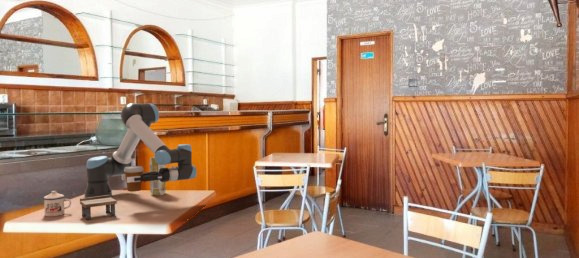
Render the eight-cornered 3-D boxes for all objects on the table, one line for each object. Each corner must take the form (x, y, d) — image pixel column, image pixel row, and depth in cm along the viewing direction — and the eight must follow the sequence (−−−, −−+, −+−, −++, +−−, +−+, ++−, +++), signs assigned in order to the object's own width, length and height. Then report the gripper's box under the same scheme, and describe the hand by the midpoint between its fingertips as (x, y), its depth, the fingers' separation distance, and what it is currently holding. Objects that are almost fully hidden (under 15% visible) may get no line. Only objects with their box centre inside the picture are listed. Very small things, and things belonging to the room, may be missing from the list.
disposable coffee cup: (137, 192, 216) (137, 168, 216) (120, 191, 218) (119, 168, 218) (147, 189, 226) (147, 166, 225) (131, 188, 227) (130, 165, 227)
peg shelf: (80, 215, 210) (79, 198, 210) (110, 211, 219) (109, 194, 218) (85, 220, 201) (85, 202, 200) (117, 216, 209) (116, 198, 209)
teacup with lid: (42, 217, 208) (42, 193, 207) (45, 213, 216) (44, 190, 216) (70, 214, 213) (70, 191, 212) (72, 211, 221) (71, 188, 220)
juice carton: (162, 195, 257) (161, 155, 256) (149, 195, 258) (148, 155, 256) (167, 192, 267) (166, 154, 266) (154, 192, 267) (153, 154, 266)
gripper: (160, 165, 240) (118, 169, 227) (175, 169, 224) (130, 173, 210) (161, 178, 241) (118, 183, 227) (175, 184, 224) (130, 189, 210)
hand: (124, 178), depth 219 cm, fingers closed on disposable coffee cup, 8 cm apart
